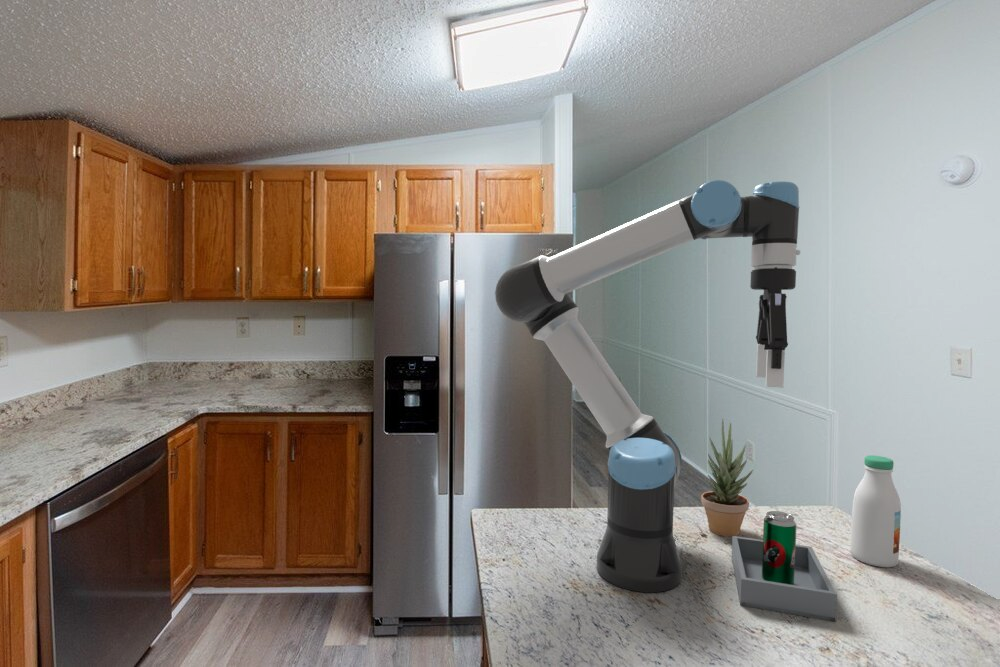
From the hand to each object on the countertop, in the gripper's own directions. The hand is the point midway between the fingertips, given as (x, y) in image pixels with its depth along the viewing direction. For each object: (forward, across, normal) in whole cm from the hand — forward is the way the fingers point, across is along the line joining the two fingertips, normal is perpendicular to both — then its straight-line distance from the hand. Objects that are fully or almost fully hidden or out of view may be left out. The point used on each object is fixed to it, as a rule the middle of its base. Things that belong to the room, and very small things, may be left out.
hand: (768, 382), depth 102 cm
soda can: (+34, -9, -2) cm, 35 cm away
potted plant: (+35, +13, +6) cm, 38 cm away
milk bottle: (+35, +9, -21) cm, 42 cm away
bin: (+35, -9, -2) cm, 36 cm away
